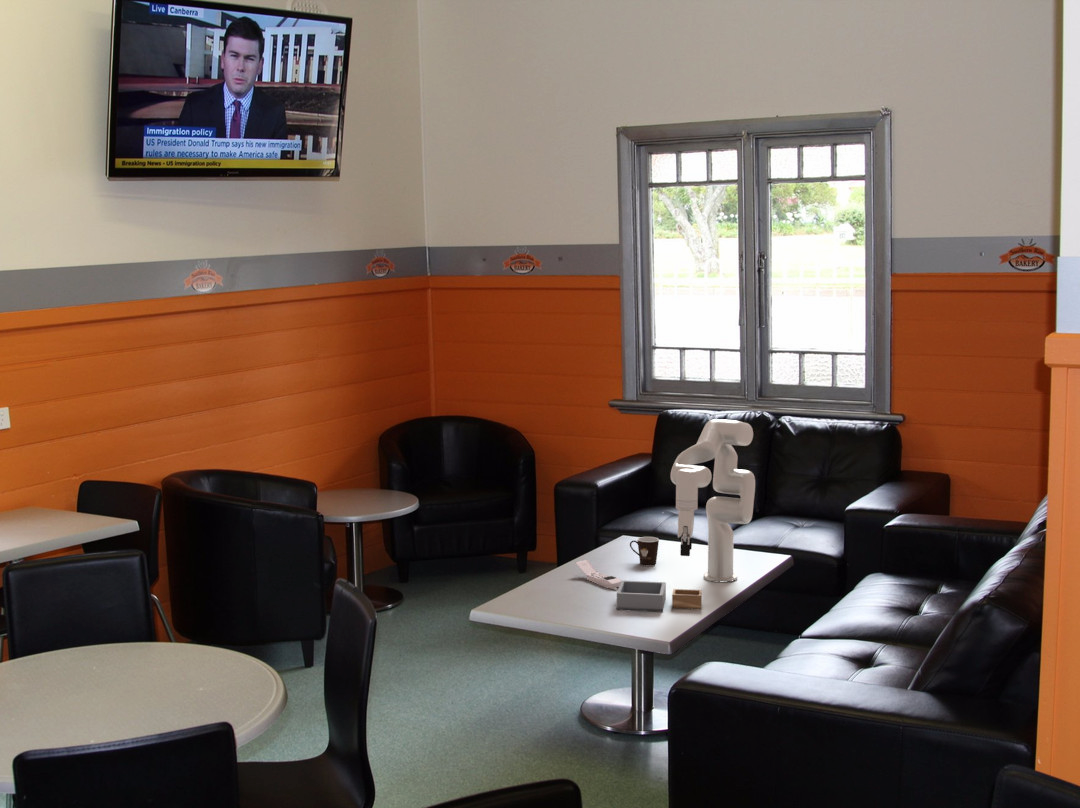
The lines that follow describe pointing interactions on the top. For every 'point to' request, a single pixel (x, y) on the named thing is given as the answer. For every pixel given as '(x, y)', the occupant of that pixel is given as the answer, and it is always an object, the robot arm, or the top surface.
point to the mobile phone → (598, 575)
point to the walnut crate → (686, 599)
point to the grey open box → (641, 596)
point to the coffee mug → (647, 550)
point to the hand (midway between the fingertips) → (686, 552)
